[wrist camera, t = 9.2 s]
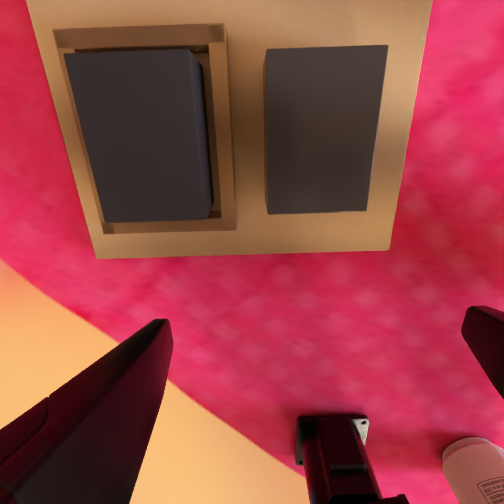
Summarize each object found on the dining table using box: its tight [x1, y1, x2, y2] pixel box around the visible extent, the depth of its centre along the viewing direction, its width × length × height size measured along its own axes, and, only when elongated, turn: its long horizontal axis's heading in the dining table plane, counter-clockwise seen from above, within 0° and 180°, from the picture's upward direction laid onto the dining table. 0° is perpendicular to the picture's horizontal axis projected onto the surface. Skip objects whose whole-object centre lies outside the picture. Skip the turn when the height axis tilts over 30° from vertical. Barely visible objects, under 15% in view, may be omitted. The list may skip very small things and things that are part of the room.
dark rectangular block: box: [63, 49, 214, 223], centre depth 14 cm, size 7×5×4 cm
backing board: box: [26, 0, 433, 259], centre depth 15 cm, size 14×19×4 cm
